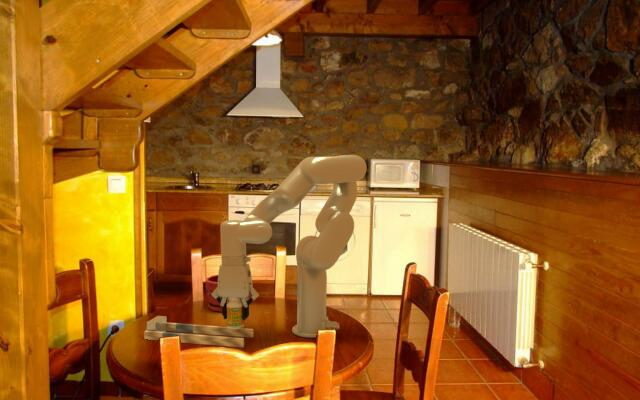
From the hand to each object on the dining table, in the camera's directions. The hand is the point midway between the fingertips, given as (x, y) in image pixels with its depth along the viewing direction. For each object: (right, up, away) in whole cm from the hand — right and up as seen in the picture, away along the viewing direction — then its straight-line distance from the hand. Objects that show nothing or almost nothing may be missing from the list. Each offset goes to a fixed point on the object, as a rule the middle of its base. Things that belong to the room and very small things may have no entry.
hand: (235, 317), depth 159 cm
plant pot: (-10, -5, +36) cm, 37 cm away
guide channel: (-12, -7, +2) cm, 14 cm away
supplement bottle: (0, -3, 0) cm, 3 cm away
